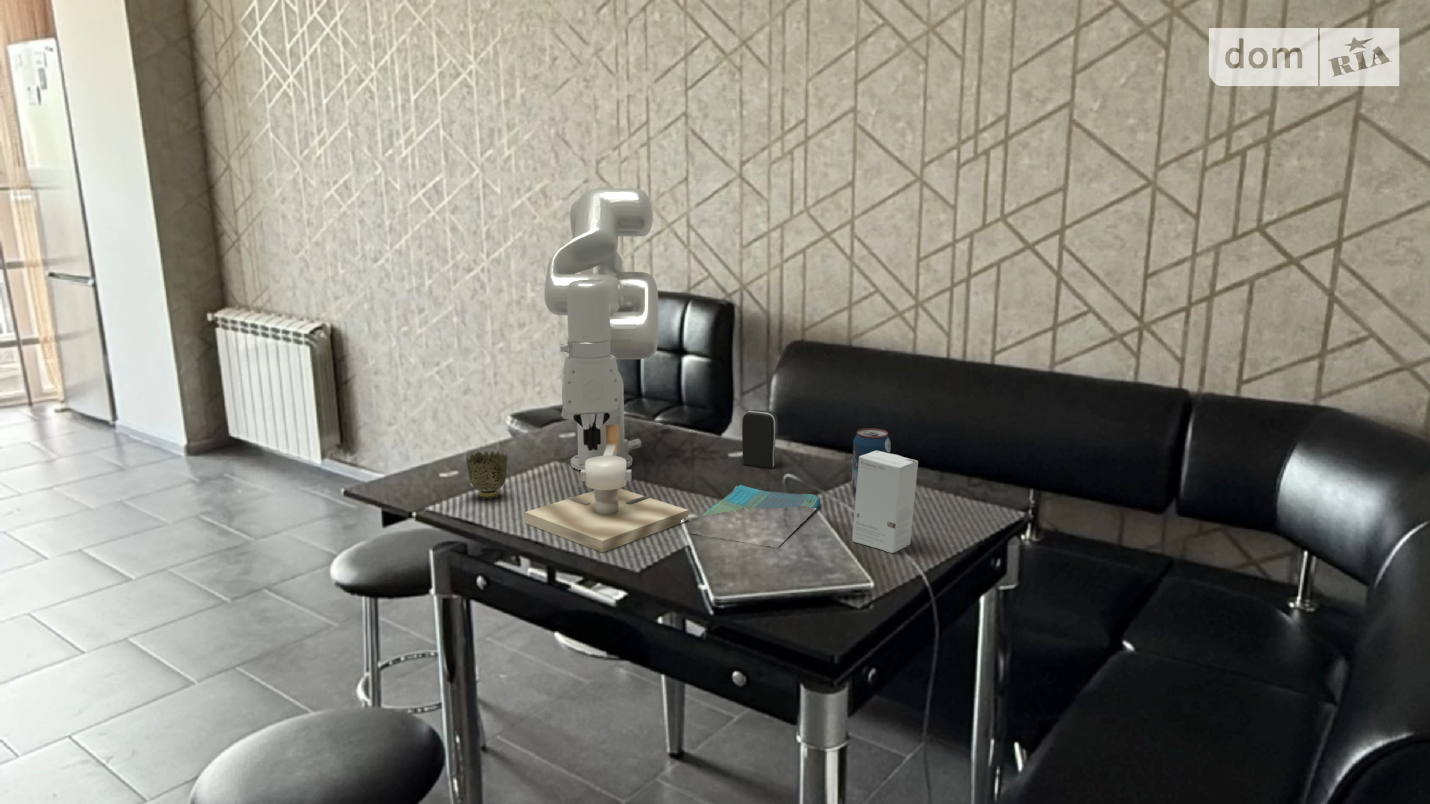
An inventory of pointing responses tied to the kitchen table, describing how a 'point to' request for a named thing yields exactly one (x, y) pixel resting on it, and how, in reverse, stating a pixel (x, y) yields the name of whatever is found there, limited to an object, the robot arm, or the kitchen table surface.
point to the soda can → (868, 447)
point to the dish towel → (762, 500)
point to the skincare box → (884, 501)
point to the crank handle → (607, 465)
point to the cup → (487, 473)
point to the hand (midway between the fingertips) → (592, 448)
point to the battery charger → (759, 438)
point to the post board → (606, 518)
